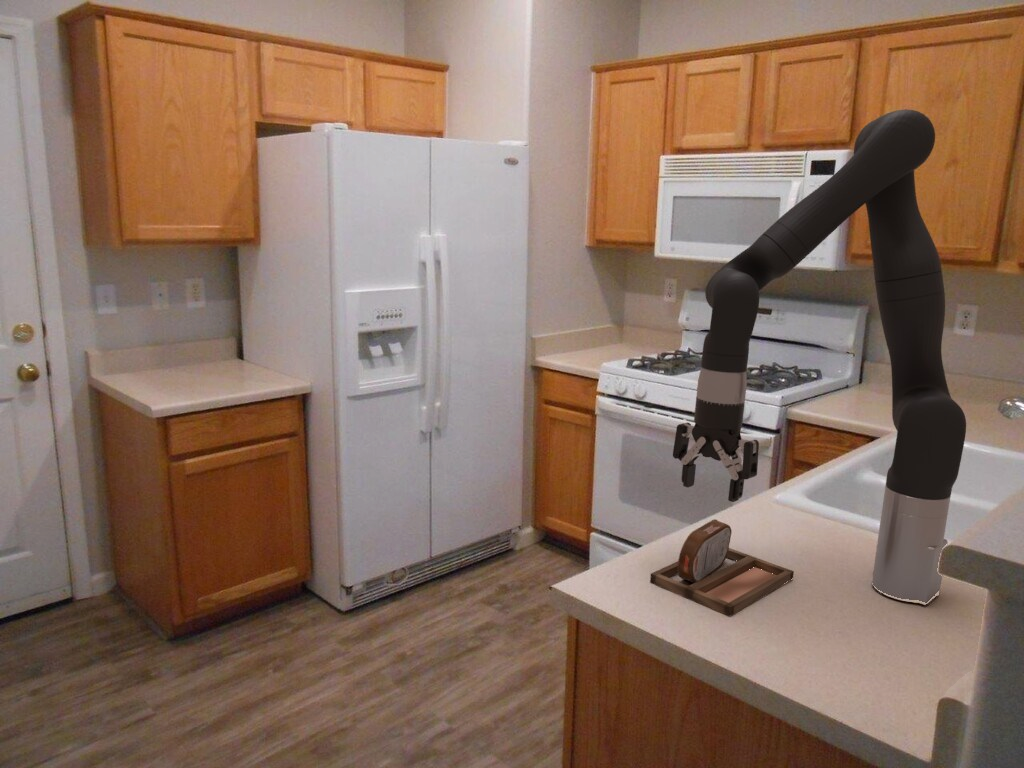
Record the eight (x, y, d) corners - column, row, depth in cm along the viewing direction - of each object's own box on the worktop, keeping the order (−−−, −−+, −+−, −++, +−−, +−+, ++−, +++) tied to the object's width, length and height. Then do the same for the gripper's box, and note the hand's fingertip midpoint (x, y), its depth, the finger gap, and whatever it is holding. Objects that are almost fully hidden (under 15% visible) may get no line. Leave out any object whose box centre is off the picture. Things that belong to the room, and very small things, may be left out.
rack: (792, 579, 130) (793, 571, 130) (729, 616, 117) (730, 607, 117) (715, 551, 141) (716, 543, 140) (650, 582, 127) (650, 573, 127)
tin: (714, 557, 138) (719, 512, 136) (731, 563, 136) (736, 517, 134) (673, 585, 127) (678, 536, 125) (691, 592, 125) (696, 542, 123)
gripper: (773, 402, 123) (761, 501, 126) (695, 385, 133) (686, 477, 136) (748, 408, 118) (736, 511, 121) (669, 390, 128) (660, 485, 131)
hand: (710, 493), depth 129 cm, fingers open, 8 cm apart
